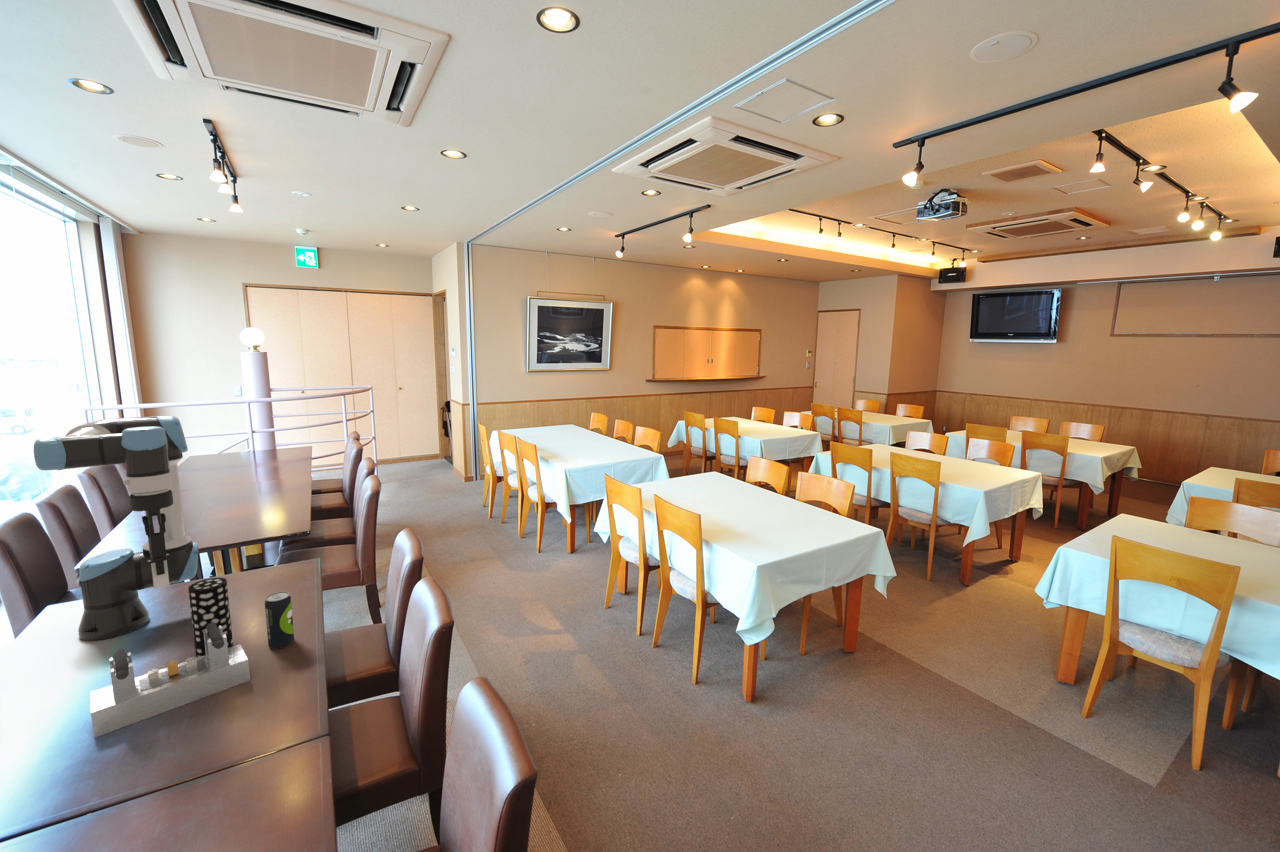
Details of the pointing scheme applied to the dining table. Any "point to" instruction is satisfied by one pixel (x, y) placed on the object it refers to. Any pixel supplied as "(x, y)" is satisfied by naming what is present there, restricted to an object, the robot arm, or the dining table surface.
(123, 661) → the dark grey bar handle
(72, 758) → the dining table surface
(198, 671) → the white parts holder tray
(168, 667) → the breaker paddle
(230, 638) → the spotted tube
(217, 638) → the dark grey rod
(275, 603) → the beverage can
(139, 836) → the dining table surface
